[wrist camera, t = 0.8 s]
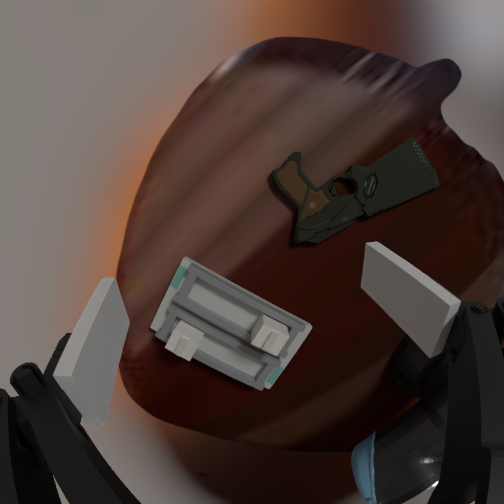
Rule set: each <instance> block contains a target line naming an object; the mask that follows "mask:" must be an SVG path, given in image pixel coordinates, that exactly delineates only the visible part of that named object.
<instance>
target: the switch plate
mask: <svg viewBox="0 0 504 504" xmlns="http://www.w3.org/2000/svg"><path fill="white" fill-rule="evenodd" d="M262 312H263V313H265V314H267V315H269V316H271V317H273V318H275V319H277V320H279V321H281V322H283V323H284V324H286V325H287V329H288V332H289V336H290V337H289V339H288V340H287V342H286V343H285V345H284V346H283V348H282V349H281V351H280V352H279V354H278V355H277V356H275V355H273V354H271V353H269V352H266V351H264V350H262V349H260V348H258V347H256V346H254V345H252V344H251V333H252V329H253V327H254V325H255V324H256V322H257V320H258V319H259V317H260V316H261V314H262ZM181 319H183V320H184V321H186V322H188V323H190V324H191V325H193V326H195V327H197V328H199V329H200V330H202V331H204V332H205V333H204V335H203V337H202V340H201V342H200V344H199V346H198V347H197V349H196V351H195V353H194V355H193V356H192V357H193V358H195V359H197V360H199V361H201V362H202V363H204V364H206V365H208V366H210V367H212V368H214V369H216V370H218V371H220V372H222V373H224V374H226V375H228V376H230V377H233V378H235V379H237V380H239V381H241V382H243V383H245V384H248V385H250V386H252V387H254V388H257V389H259V390H261V391H262V389H263V388H264V387H266V388H268V389H270V388H271V386H272V385H273V384H274V382H275V381H276V379H277V378H278V377H279V375H280V374H281V373H282V371H283V370H284V368H285V367H286V366H287V364H288V363H289V361H290V360H291V359H292V357H293V356H294V354H295V353H296V351H297V350H298V348H299V347H300V346H301V344H302V343H303V341H304V340H305V338H306V337H307V335H308V334H309V332H310V331H311V329H312V326H311V324H310V323H308V322H306V321H304V320H302V319H300V318H298V317H296V316H294V315H292V314H290V313H288V312H286V311H285V310H283V309H281V308H279V307H277V306H275V305H273V304H271V303H269V302H268V301H266V300H264V299H262V298H260V297H258V296H256V295H255V294H253V293H251V292H249V291H247V290H245V289H243V288H242V287H240V286H238V285H236V284H234V283H233V282H231V281H229V280H227V279H225V278H224V277H222V276H220V275H218V274H216V273H215V272H213V271H211V270H209V269H207V268H206V267H204V266H202V265H200V264H199V263H197V262H195V261H193V260H192V259H190V258H188V257H184V258H183V260H182V262H181V264H180V266H179V268H178V270H177V272H176V274H175V276H174V278H173V280H172V282H171V284H170V286H169V288H168V290H167V292H166V294H165V296H164V299H163V301H162V303H161V305H160V307H159V309H158V311H157V313H156V316H155V318H154V320H153V322H152V324H151V327H150V328H152V329H153V330H155V331H157V332H156V335H155V336H156V337H158V338H159V339H161V340H163V341H164V342H166V343H167V342H168V340H169V338H170V336H171V334H172V332H173V330H174V329H175V327H176V326H177V325H178V323H179V322H180V321H181Z"/></svg>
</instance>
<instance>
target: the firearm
mask: <svg viewBox="0 0 504 504" xmlns="http://www.w3.org/2000/svg"><path fill="white" fill-rule="evenodd" d="M300 160H301V152H294V153H293V154H291V155H290V156H289V157H288V159H287V160H286V162H285V164H284V165H283V166H282V167H280V168H278V169H275V170H273V171H272V173H271V176H272V178H273V180H274V182H275V185H276V187H277V188H278V190H279V191H280V192H281V193H282V194H284V195H285V196H286V197H287V198H288V199H289V200H290V201H291V202H292V203H293V204H294V205H295V206H296V207H297V209H298V210H297V222H296V225H295V228H294V237H293V239H294V242H295V243H298V244H299V243H302V242H305V241H307V242H313V243H319V242H321V241H323V240H325V239H327V238H328V237H330V236H332V235H334V234H336V233H337V232H339V231H341V230H343V229H344V228H346V227H348V226H349V225H351V224H352V223H353V222H354V220H355V218H356V217H359V216H361V215H365V216H366V217H369V216H372V215H374V214H376V213H378V212H381V211H384V210H386V209H388V208H391V207H393V206H395V205H398V204H400V203H403V202H405V201H407V200H409V199H412V198H414V197H416V196H419V195H421V194H423V193H425V192H428V191H430V190H432V189H435V188H437V187H439V181H438V177H437V172H436V170H435V169H434V168H433V167H432V166H431V165H430V162H429V160H428V159H427V157H426V155H425V154H424V152H423V150H422V149H421V147H420V146H419V144H418V142H417V141H416V139H415V138H414V137H411V138H409V139H407V140H406V141H404V142H403V143H401V144H400V145H398V146H397V147H395V148H394V149H393V150H391V151H390V152H388V153H387V154H385V155H383V156H382V157H380V158H379V159H377V160H376V161H374V162H373V163H371V164H370V165H368V166H367V167H363V166H360V165H353V166H350V167H349V170H348V172H346V173H345V174H338V175H336V176H334V177H333V178H331V179H330V180H329V181H328V182H327V183H326V184H325V185H323V186H321V187H319V188H316V187H315V186H314V185H313V184H312V183H311V182H310V180H309V179H308V178H307V177H306V176H305V175H304V174H303V172H302V171H301V168H300ZM426 169H427V170H426ZM423 171H424V172H423ZM420 173H421V174H420ZM417 175H418V176H417ZM415 176H416V177H415ZM336 178H344V179H347V180H350V181H351V182H352V183H353V184H354V187H355V190H354V192H353V194H351V195H344V194H343V195H341V196H339V195H338V194H337V193H336V191H335V186H336V185H337V184H338V183H336V184H335V185H334V186H333V187H332V189H331V192H330V193H329V191H328V186H329V184H330V183H331V182H332V181H333V180H335V179H336ZM332 195H334V196H335V197H334V196H332Z"/></svg>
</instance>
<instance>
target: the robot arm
mask: <svg viewBox="0 0 504 504" xmlns="http://www.w3.org/2000/svg"><path fill="white" fill-rule="evenodd" d="M361 288H362V289H363V290H364V291H365V292H366V293H367V294H368V295H369V296H370V297H371V298H372V299H373V300H374V301H375V302H376V303H377V304H378V305H379V306H380V307H381V308H382V309H383V310H384V311H385V312H386V313H387V314H388V315H389V316H390V317H391V318H392V319H393V320H394V321H395V322H396V323H397V324H398V325H399V326H400V327H401V328H402V329H403V330H404V331H405V332H406V333H407V334H408V335H407V336H406V337H405V338H404V339H403V341H402V342H401V343H400V345H399V347H398V348H397V350H396V352H395V355H394V357H393V361H392V366H391V374H392V378H393V380H394V382H395V383H396V385H397V386H398V387H399V388H400V389H401V390H402V391H403V392H405V393H407V394H409V395H412V396H414V397H417V398H419V399H421V400H420V401H419V402H418V403H416V404H415V405H414V406H412V407H411V408H410V409H408V410H407V411H406V412H404V413H403V414H402V415H400V416H399V417H398V418H396V419H395V420H393V421H392V422H391V423H389V424H388V425H386V426H385V427H383V428H382V429H380V430H379V431H375V432H373V434H372V435H371V436H369V437H368V438H366V439H365V440H363V441H362V442H360V443H359V444H358V445H356V446H355V448H354V449H353V452H352V456H351V461H352V468H353V473H354V477H355V481H356V484H357V486H358V489H359V491H360V493H361V495H362V497H363V498H364V499H365V501H366V503H367V504H379V503H381V504H470V503H472V502H473V501H475V504H504V347H503V345H502V344H503V342H504V298H499V299H498V300H497V302H496V305H495V307H494V308H490V309H488V307H487V306H485V305H484V304H482V303H480V302H477V301H470V302H468V303H465V302H464V301H463V300H462V299H460V298H459V297H458V296H456V295H455V294H454V293H452V292H451V291H450V290H448V289H447V288H446V287H444V286H442V284H440V283H439V282H438V281H436V280H434V279H432V278H430V277H428V276H427V275H425V274H424V273H423V272H421V271H420V270H418V269H417V268H415V267H414V266H413V265H411V264H410V263H408V262H407V261H405V260H404V259H402V258H401V257H399V256H398V255H396V254H395V253H393V252H392V251H390V250H389V249H387V248H386V247H384V246H383V245H381V244H380V243H378V242H371V243H366V247H365V257H364V265H363V273H362V281H361ZM129 324H130V321H129V319H128V316H127V313H126V310H125V307H124V304H123V301H122V298H121V294H120V291H119V288H118V285H117V281H116V278H115V277H111V278H102V279H101V281H100V282H99V284H98V286H97V288H96V290H95V291H94V293H93V295H92V297H91V298H90V300H89V302H88V304H87V305H86V307H85V309H84V311H83V313H82V315H81V317H80V319H79V321H78V322H77V324H76V326H75V328H74V330H73V332H72V333H67V334H66V335H65V336H64V337H63V338H62V339H61V340H60V341H59V343H58V345H57V347H56V350H55V351H54V353H53V355H52V358H51V359H50V361H49V363H48V365H47V367H46V369H45V372H44V374H42V372H41V371H40V369H39V368H38V366H37V365H36V364H34V363H25V364H22V365H20V366H19V367H17V368H16V369H15V370H14V372H13V373H12V375H11V378H10V384H11V385H12V386H13V388H14V389H15V390H16V392H17V393H18V394H19V396H16V397H10V396H9V395H8V393H7V392H6V391H5V390H4V389H0V504H62V503H61V501H60V497H59V494H58V491H57V488H56V485H55V481H54V477H55V479H56V481H57V483H58V485H59V487H60V488H61V490H62V492H63V493H64V495H65V497H66V499H67V500H68V502H69V503H70V504H141V503H140V502H139V501H138V499H136V498H135V496H134V495H133V494H132V493H131V492H130V491H129V489H128V488H127V487H126V486H125V485H124V484H123V482H122V481H121V480H120V479H119V477H118V476H117V475H116V474H115V473H114V471H113V470H112V469H111V467H110V466H109V465H108V463H107V462H106V461H105V459H104V458H103V457H102V455H101V454H100V452H99V451H98V449H97V448H96V447H95V445H94V443H93V442H92V440H91V439H90V437H89V436H88V434H87V433H86V431H85V429H84V428H83V427H82V426H81V424H80V422H81V417H83V418H84V419H85V420H86V421H87V423H88V424H90V425H104V426H106V423H107V418H108V412H109V407H110V401H111V397H112V392H113V387H114V382H115V378H116V374H117V369H118V365H119V361H120V357H121V353H122V349H123V345H124V342H125V338H126V334H127V331H128V327H129ZM53 475H54V477H53Z"/></svg>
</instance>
